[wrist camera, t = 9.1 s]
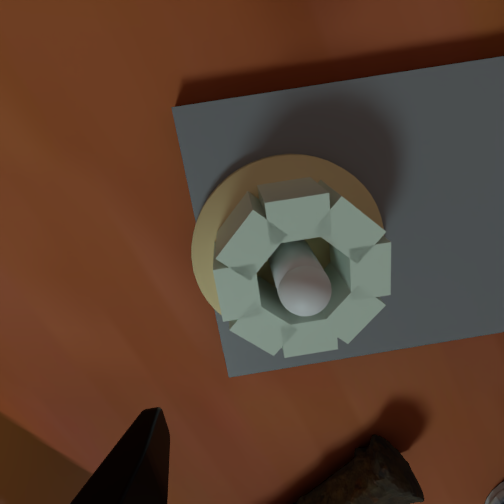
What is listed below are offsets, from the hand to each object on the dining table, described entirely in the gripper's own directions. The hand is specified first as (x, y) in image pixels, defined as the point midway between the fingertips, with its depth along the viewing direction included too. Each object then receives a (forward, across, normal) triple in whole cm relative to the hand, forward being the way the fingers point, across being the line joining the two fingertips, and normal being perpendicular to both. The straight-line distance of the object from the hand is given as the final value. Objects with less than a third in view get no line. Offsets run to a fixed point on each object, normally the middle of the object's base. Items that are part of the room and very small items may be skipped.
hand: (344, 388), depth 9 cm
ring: (+9, 0, 0) cm, 9 cm away
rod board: (+10, -7, 0) cm, 12 cm away
